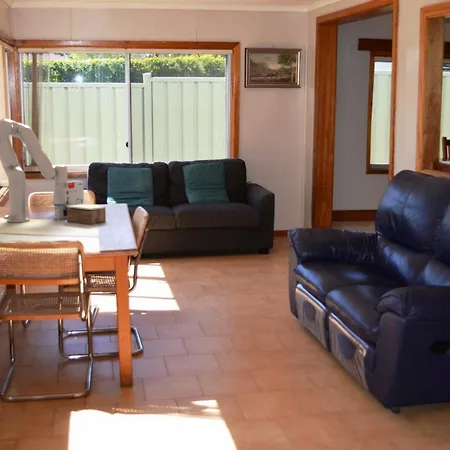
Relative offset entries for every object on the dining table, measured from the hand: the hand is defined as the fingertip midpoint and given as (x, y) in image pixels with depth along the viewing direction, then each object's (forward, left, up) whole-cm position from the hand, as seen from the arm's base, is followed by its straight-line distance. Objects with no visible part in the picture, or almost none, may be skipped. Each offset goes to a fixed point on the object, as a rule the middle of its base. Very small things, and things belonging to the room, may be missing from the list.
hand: (62, 215), depth 433 cm
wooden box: (-1, -20, -2) cm, 20 cm away
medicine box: (0, 0, -2) cm, 2 cm away
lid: (-1, -20, +6) cm, 21 cm away
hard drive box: (+20, +11, -2) cm, 23 cm away
